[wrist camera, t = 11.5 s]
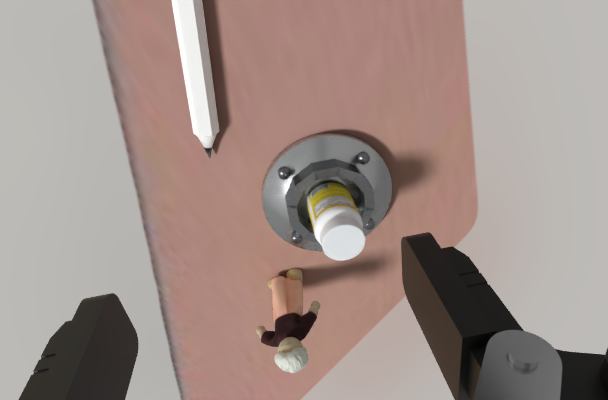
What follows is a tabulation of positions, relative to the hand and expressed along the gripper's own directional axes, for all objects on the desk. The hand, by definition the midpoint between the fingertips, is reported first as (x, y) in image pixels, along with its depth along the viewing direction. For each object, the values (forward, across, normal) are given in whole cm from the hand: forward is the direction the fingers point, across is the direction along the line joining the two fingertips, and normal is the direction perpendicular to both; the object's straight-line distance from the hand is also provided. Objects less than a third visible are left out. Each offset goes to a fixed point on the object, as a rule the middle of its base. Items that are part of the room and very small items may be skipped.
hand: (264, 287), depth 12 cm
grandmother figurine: (+30, +2, +26) cm, 40 cm away
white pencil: (+31, +5, 0) cm, 31 cm away
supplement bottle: (+29, -5, +15) cm, 33 cm away
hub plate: (+30, -5, +15) cm, 34 cm away
